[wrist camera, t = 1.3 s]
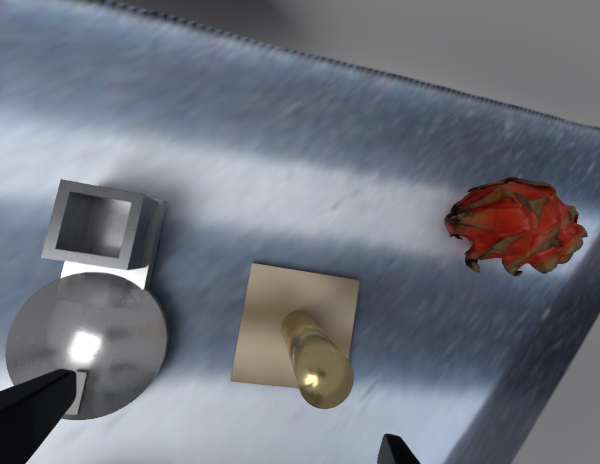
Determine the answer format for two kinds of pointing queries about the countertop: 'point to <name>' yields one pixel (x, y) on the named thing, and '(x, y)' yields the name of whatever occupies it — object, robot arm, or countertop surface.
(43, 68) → the countertop surface
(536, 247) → the dragon fruit
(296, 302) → the tan square plate
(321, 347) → the brass cylinder
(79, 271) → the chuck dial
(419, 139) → the countertop surface
